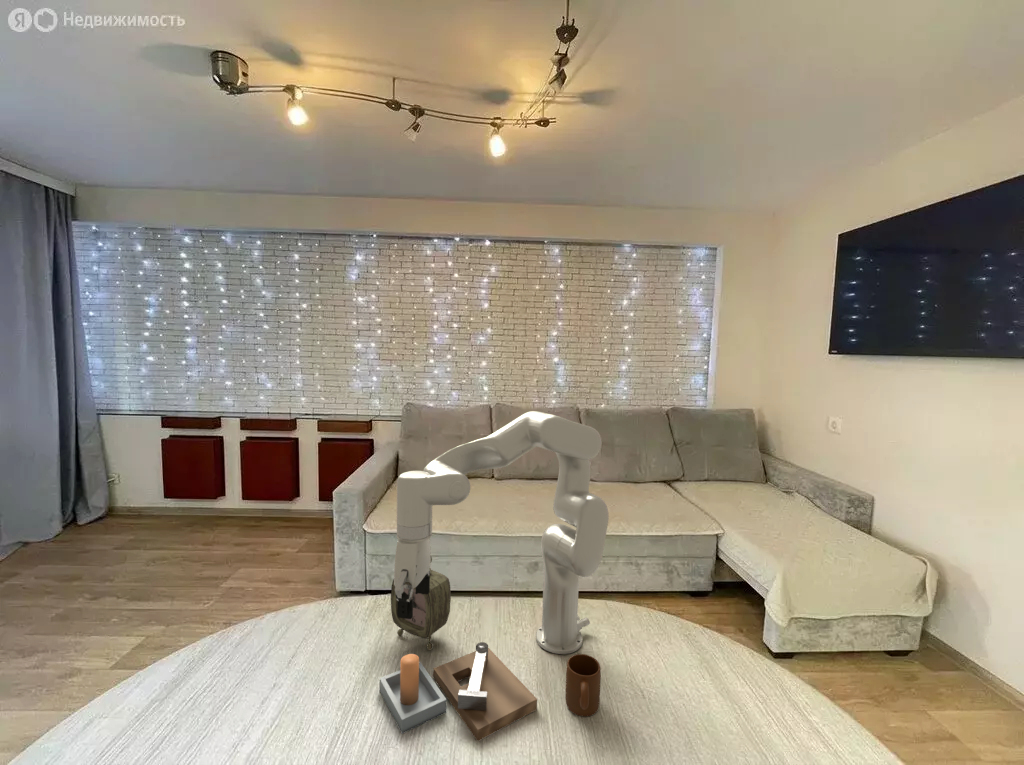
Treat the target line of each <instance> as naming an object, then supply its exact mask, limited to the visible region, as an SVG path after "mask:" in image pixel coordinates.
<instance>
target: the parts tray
mask: <svg viewBox="0 0 1024 765" xmlns="http://www.w3.org/2000/svg"><path fill="white" fill-rule="evenodd" d="M378 687H379V688H378V689H379V693H380V695H381V696H382V698H383V701H384V702H385V704H386V705H387V706H386V707H387V708H388V710H389V711H390V713H391V715H392V718H393V719H394V721H395V723H396V725H397V727H398V730H399V731H400V733H401V734H404V733H406V732H409V731H410V730H412V729H414V728H417V727H419V726H421V725H423V724H425V723H427V722H429V721H432V720H434V719H435V718H438V717H440V716H442V715H444V714H446V713H447V700H448V699H447V697H446V696H445V694H444V693H443V691H442V690H441V689H440V687H439V686H438V684H437V683H436V681H435V680H434V679H433V677H431V674H429V673H428V671H427V669H426V668H425V666H424V665H423V663H422V662H421V661H419V698H418V701H417V702H416V703H414V704H412V705H404V704H402V703H401V701H400V670H397V671H394V672H392V673H389V674H386V675H384V676H382V677H379V686H378Z"/></svg>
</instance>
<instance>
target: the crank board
mask: <svg viewBox="0 0 1024 765" xmlns="http://www.w3.org/2000/svg"><path fill="white" fill-rule="evenodd" d="M475 655H476V650H475V651H472V652H469V653H468V654H465V655H463V656H460V657H457V658H456V659H452V660H450V661H448V662H446V663H443V664H440V665H438V666H435V667H433V668H432V670H433V671H432V672H433V673H432V675H433V677H432V679H433V681H434V682H435V684H436V685H437V686H438V688H439V689H440V691H441V692H442V694H443V695H444V697H445V698H446V699H447V700H448V701H449V703H450V704H451V705H452V707H453V709H454V710H455V711H456V713H457V714H458V715H459V717H460V718H461V720H462V722H463V723H464V725H465V726H466V727H467V729H468V730H469V731H470V732H471V734H472V736H473V737H474V739H475V740H476V742H480V741H481V740H483V739H485V738H487V737H489V736H491V735H492V734H494V733H497V732H498V731H500V730H502V729H504V728H506V727H508V726H509V725H511V724H513V723H515V722H517V721H519V720H520V719H523V718H524V717H526V716H528V715H530V714H531V713H533V712H535V711H537V710H538V698H537V697H536V696H535V695H534V694H533V693H532V691H530V690H529V689H528V688H527V687H526V685H525V684H524V683H523V682H522V681H520V679H519V678H518V677H517V676H516V675H515V674H514V673H513V672H512V671H511V670H510V669H509V667H507V666H506V664H505V663H504V662H503V661H502V660H501V659H500V658H499V657H498V656H497V655H496V653H494V652H493V651H492V650H491V649H490V648H489V647H488V661H487V662H486V666H485V672H484V678H483V683H482V689H481V691H484V692H487V708H486V711H485V710H472V709H460V708H458V693H459V690H468V687H469V682H468V683H466V684H464V685H460V684H459V683H460V682H461V681H462V680H465V679H467V678H469V679H470V678H471V673H472V669H473V664H474V660H475Z"/></svg>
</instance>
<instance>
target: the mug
mask: <svg viewBox="0 0 1024 765" xmlns="http://www.w3.org/2000/svg"><path fill="white" fill-rule="evenodd" d="M600 664H601V663H600V662H599V661H598V660H597V659H596V658H595V657H593V656H591V655H589V654H584V653H579V654H578V653H577V654H574V655H572V656H570V657H569V658H568V659H567V663H566V670H565V694H564V695H565V705H566V706H567V708H568V710H569V711H570V712H571V713H573V714H574V715H576V716H580V717H591V716H593V715H596V713H597V712H598V711H599V708H600V703H601V702H600V701H601V684H602V683H601V680H602V677H601V676H602V674H601V672H602V671H601V669H602V668H601V665H600Z"/></svg>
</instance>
